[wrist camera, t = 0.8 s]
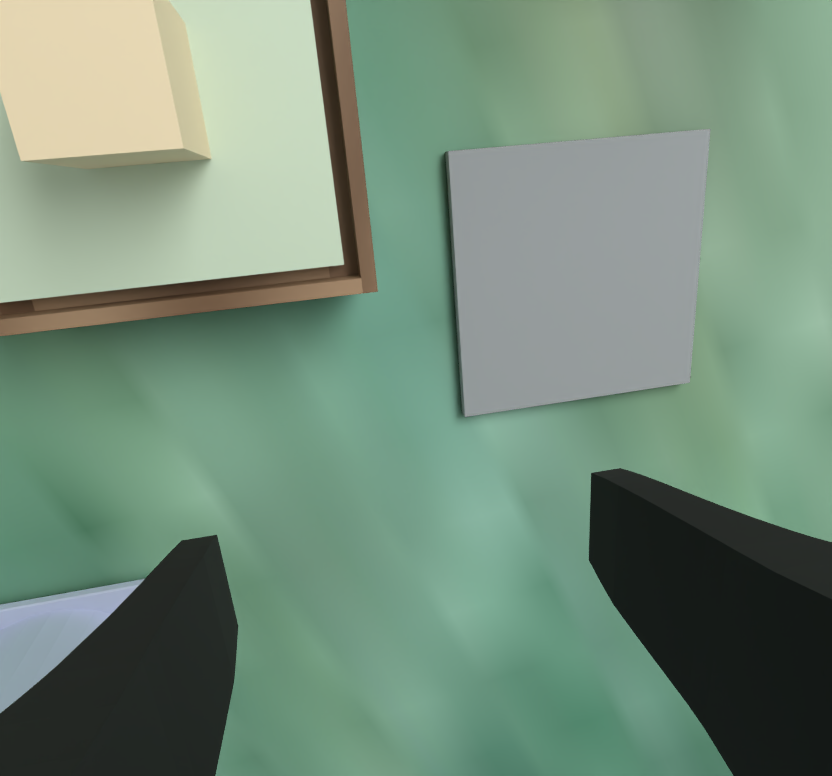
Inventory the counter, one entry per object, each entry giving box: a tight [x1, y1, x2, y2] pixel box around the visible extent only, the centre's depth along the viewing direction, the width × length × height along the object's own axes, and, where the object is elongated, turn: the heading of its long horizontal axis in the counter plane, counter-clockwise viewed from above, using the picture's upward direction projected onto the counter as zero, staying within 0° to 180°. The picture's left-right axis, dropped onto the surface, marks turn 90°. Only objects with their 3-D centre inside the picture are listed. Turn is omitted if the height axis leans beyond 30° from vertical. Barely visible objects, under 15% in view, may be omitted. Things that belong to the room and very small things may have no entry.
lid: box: [0, 0, 344, 303], centre depth 12 cm, size 8×8×4 cm
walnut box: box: [0, 0, 378, 336], centre depth 14 cm, size 10×10×4 cm
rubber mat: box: [445, 129, 710, 417], centre depth 20 cm, size 9×9×1 cm
